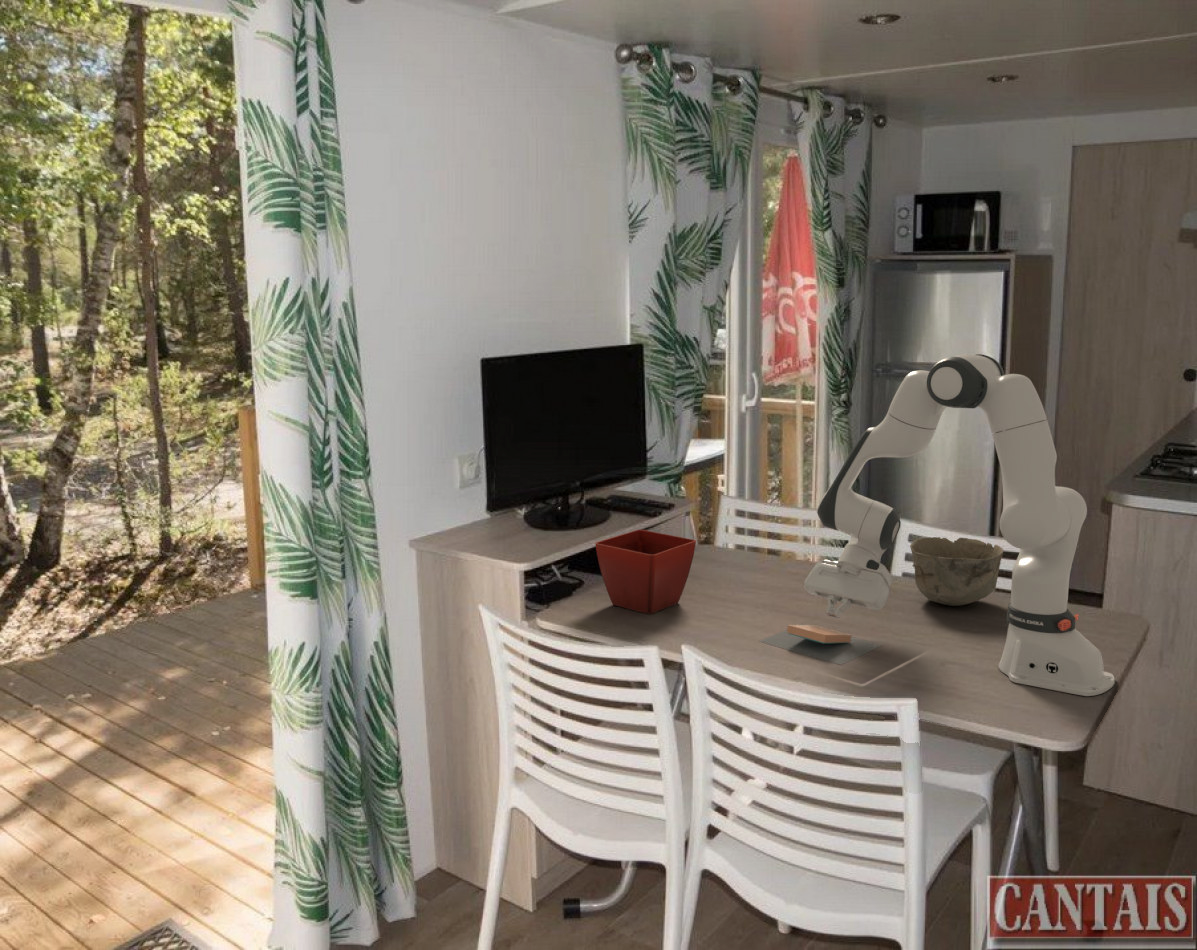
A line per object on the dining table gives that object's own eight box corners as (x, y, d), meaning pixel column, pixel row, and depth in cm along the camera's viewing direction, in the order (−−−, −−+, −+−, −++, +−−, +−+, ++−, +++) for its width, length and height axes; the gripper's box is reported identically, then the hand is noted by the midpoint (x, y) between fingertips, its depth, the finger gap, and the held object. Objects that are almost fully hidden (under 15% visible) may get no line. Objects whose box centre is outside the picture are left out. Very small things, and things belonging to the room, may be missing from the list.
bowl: (1016, 605, 271) (1020, 548, 268) (962, 622, 259) (965, 562, 256) (944, 585, 289) (947, 531, 286) (890, 600, 277) (892, 544, 274)
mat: (882, 647, 243) (882, 645, 243) (840, 667, 232) (840, 664, 231) (801, 625, 259) (801, 623, 259) (758, 643, 247) (758, 641, 247)
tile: (851, 634, 245) (825, 635, 237) (850, 643, 245) (824, 644, 237) (814, 625, 252) (788, 625, 244) (813, 633, 252) (786, 633, 244)
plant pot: (697, 602, 278) (698, 539, 275) (653, 621, 264) (652, 554, 261) (639, 589, 290) (639, 528, 287) (594, 606, 276) (593, 543, 273)
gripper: (814, 551, 258) (789, 599, 253) (890, 566, 243) (865, 618, 238) (824, 565, 261) (800, 613, 257) (899, 581, 247) (875, 632, 242)
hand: (832, 615), depth 247 cm, fingers closed
